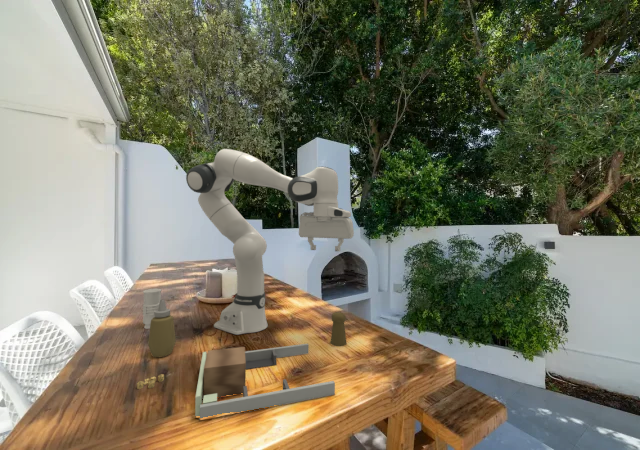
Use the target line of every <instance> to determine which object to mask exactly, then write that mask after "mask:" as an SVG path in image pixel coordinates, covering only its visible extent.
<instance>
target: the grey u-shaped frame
mask: <svg viewBox="0 0 640 450" xmlns="http://www.w3.org/2000/svg"><path fill="white" fill-rule="evenodd" d="M309 346H310V345H309V343H302V344H301V343H299V344H292V345H287V346H278V347H270V348H262V349H254V350H245V360H246V371H247V370H251V369H260V368H266V367H272V366H277V362H278V361H277V359H278V358H279V359H280V358H286V357H287V358H288V357H293V356H301V355H307V354H309V352H310V351H309V348H310V347H309ZM335 391H336V383H335V381H334V380H330V381H326V382H325V381H324V382H319V383H314V384H309V385H303V386H298V387H291V388H290V386H289V384H288V381H287V379H285V378H284V379H282V389H281V390H274V391H271V392H265V393H264V392H263V393H259V394H253V395H249V393H248V385H245V386H243V394H242V397H235V398H231V399H225V400H220V401H217V402H213V403H208V404H203V403H202V405H200V418H203V417H208V416H213V415H217V414H222V413H230V412H241V411H247V410H254V409H259V408H264V409H266V408H265V407H269V408H271V407H270V406H274V405H279V406H283V405H288V404H294V403H299V402H303V401H304V402H305V401H309V400H315V399H318V398H325V397H330V396H334V395H335V393H336V392H335ZM282 404H283V405H282ZM274 407H275V406H274ZM259 410H260V409H259ZM254 411H255V410H254ZM200 418H199V419H200Z"/></svg>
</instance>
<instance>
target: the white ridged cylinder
mask: <svg viewBox="0 0 640 450" xmlns="http://www.w3.org/2000/svg"><path fill="white" fill-rule="evenodd" d="M162 291H163V290H162V288H149V289H144V290H142V293H143V304H142V316H143V317H142V324H144V327H143V328H144V329H146V330H147V329H148V330H150V324H151V320H152V319H153V318H154V312H155V311H156V310H158V308H159V304H160V300H161V299H162Z"/></svg>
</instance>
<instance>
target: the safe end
mask: <svg viewBox="0 0 640 450" xmlns="http://www.w3.org/2000/svg"><path fill="white" fill-rule="evenodd" d="M207 353H208V351H202V355H201V356H202V357H201V361H200V368H199V374H198V381H197V386H196V392H195V397H194V398H195V402H194V404H195V408H194V409H195V410H194V411H195V414H194V417H195V416H200V405H202V404H208V403H213V402H218V398H217V393H215V394H210V395H204V392H203V391H204V365H205V361H206V357H207ZM202 399H203V400H202Z"/></svg>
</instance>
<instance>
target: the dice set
mask: <svg viewBox="0 0 640 450" xmlns="http://www.w3.org/2000/svg"><path fill="white" fill-rule="evenodd" d="M164 380H165V374H164V373H161V374H159V375H158V376H157V377H156V376H152V377H150V378H145V379H144V381H143V380H140V381H138V382H137V383H136V389H138V390H141V389H143V388H144V386H146V385H147V388H148V389H153V388H155V383H156V381H157V382H159V383H160V382H163V381H164Z"/></svg>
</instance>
